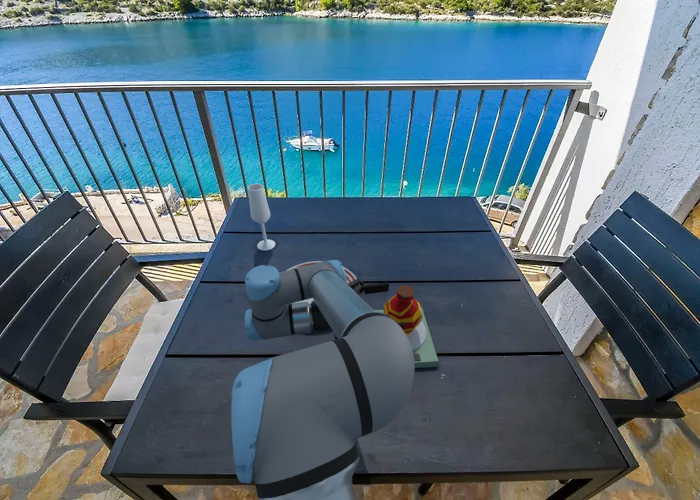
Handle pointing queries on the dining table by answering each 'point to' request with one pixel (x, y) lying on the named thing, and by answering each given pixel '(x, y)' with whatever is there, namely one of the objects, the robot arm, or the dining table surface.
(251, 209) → the champagne flute
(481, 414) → the dining table surface
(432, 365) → the kitchen scale
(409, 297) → the potion bottle
